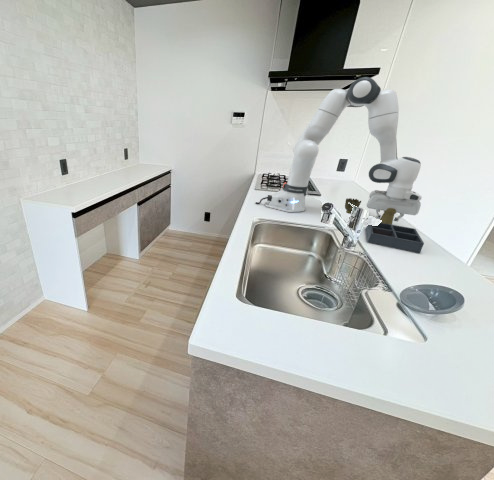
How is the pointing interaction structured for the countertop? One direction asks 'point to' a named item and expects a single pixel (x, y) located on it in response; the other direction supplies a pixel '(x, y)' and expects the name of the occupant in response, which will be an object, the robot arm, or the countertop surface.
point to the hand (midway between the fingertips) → (386, 219)
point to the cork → (388, 216)
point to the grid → (395, 237)
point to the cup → (348, 206)
